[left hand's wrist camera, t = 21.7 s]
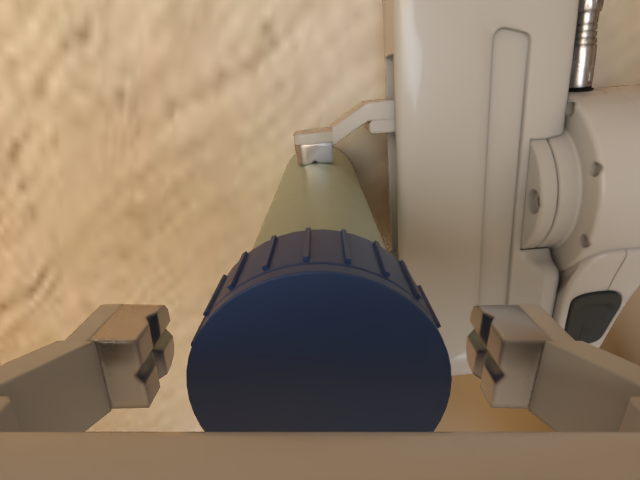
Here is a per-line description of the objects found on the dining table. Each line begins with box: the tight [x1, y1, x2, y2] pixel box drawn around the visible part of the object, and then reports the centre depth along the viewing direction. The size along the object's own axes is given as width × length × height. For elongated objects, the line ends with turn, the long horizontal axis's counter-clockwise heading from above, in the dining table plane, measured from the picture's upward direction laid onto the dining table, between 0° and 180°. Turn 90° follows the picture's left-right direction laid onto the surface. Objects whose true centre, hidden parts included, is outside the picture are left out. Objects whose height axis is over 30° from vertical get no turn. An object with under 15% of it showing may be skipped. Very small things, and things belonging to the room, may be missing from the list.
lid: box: [187, 227, 452, 432], centre depth 9 cm, size 5×6×2 cm
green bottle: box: [253, 147, 386, 250], centre depth 17 cm, size 5×5×18 cm
